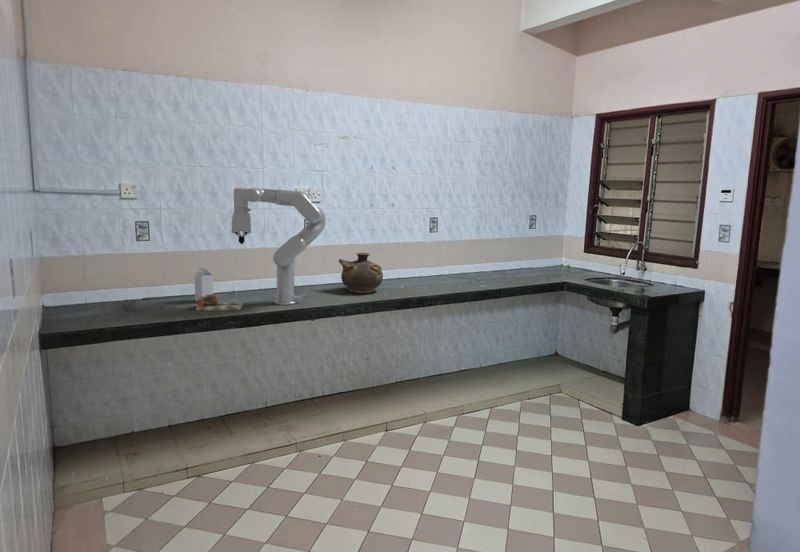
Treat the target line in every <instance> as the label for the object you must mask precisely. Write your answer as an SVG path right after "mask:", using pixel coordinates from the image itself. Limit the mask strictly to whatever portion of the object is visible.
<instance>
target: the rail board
mask: <svg viewBox="0 0 800 552" xmlns="http://www.w3.org/2000/svg"><path fill="white" fill-rule="evenodd" d="M242 307H243V302H218V303H217V305H205V296H201V297H200V298H199V299H198V302H197V306H196V311H240V310H241V309H242Z"/></svg>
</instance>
